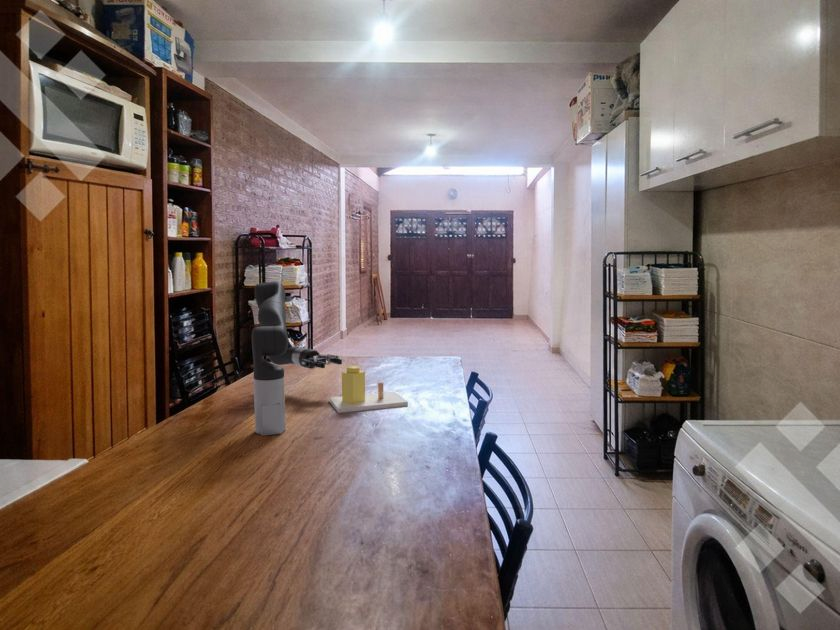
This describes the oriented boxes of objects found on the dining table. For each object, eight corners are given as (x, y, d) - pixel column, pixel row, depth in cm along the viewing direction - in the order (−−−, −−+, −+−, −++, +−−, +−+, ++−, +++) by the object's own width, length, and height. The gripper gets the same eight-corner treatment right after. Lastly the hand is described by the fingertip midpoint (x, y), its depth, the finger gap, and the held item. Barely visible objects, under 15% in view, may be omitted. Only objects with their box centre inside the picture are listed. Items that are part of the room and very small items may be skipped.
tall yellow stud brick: (365, 400, 195) (364, 367, 194) (353, 404, 190) (352, 370, 189) (353, 397, 199) (353, 365, 198) (342, 401, 194) (341, 367, 193)
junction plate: (407, 405, 194) (407, 385, 193) (338, 412, 185) (337, 392, 184) (394, 395, 209) (394, 376, 208) (329, 401, 200) (329, 382, 199)
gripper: (291, 351, 205) (318, 356, 195) (319, 346, 216) (346, 351, 206) (291, 370, 206) (318, 376, 196) (319, 364, 217) (346, 369, 207)
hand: (332, 363), depth 201 cm, fingers open, 8 cm apart
